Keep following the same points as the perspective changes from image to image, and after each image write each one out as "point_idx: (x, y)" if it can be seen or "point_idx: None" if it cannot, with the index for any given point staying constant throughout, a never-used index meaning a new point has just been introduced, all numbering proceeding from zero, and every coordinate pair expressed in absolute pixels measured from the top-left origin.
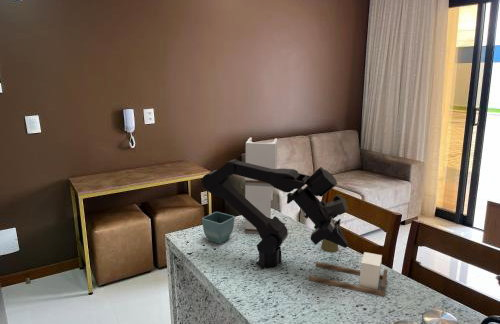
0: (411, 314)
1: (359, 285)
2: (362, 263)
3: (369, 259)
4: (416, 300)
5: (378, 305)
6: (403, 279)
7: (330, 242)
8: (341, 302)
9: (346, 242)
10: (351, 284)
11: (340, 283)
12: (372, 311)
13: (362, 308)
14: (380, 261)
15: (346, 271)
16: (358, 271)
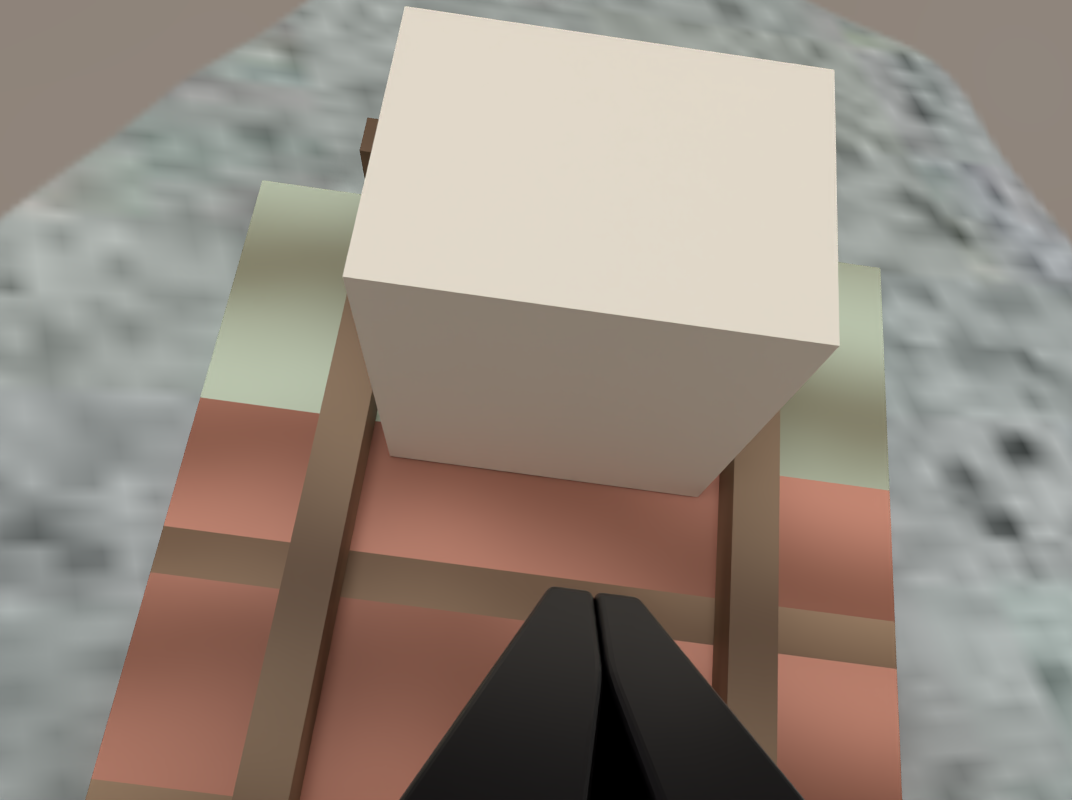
0: (909, 78)
1: (709, 482)
2: (834, 328)
3: (650, 201)
4: (669, 13)
5: (897, 318)
6: (300, 56)
7: None
8: (1027, 705)
9: (587, 636)
10: (737, 584)
11: (772, 742)
12: (1028, 377)
13: (1026, 470)
14: (662, 47)
15: (319, 671)
16: (345, 491)
